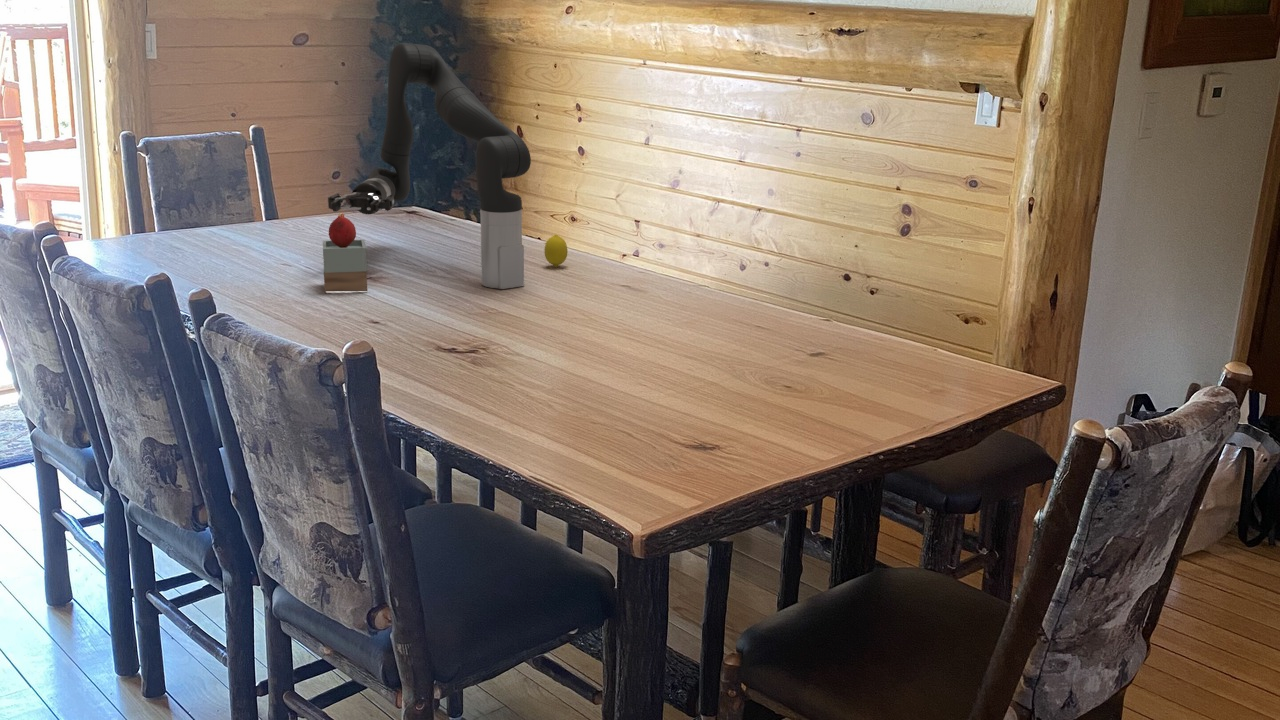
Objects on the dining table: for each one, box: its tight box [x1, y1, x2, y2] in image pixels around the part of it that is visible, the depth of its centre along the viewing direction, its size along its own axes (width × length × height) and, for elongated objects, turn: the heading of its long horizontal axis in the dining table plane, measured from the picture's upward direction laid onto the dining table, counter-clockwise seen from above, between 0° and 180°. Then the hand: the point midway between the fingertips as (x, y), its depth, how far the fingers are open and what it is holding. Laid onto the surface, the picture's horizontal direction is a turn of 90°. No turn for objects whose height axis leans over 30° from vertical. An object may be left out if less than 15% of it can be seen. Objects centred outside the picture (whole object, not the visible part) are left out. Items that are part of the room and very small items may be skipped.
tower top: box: [322, 239, 368, 274], centre depth 255 cm, size 9×9×5 cm
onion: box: [328, 212, 357, 248], centre depth 253 cm, size 6×6×8 cm
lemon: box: [544, 234, 568, 268], centre depth 281 cm, size 6×6×8 cm
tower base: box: [323, 270, 368, 292], centre depth 257 cm, size 9×9×5 cm
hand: (353, 207), depth 261 cm, fingers open, 8 cm apart
